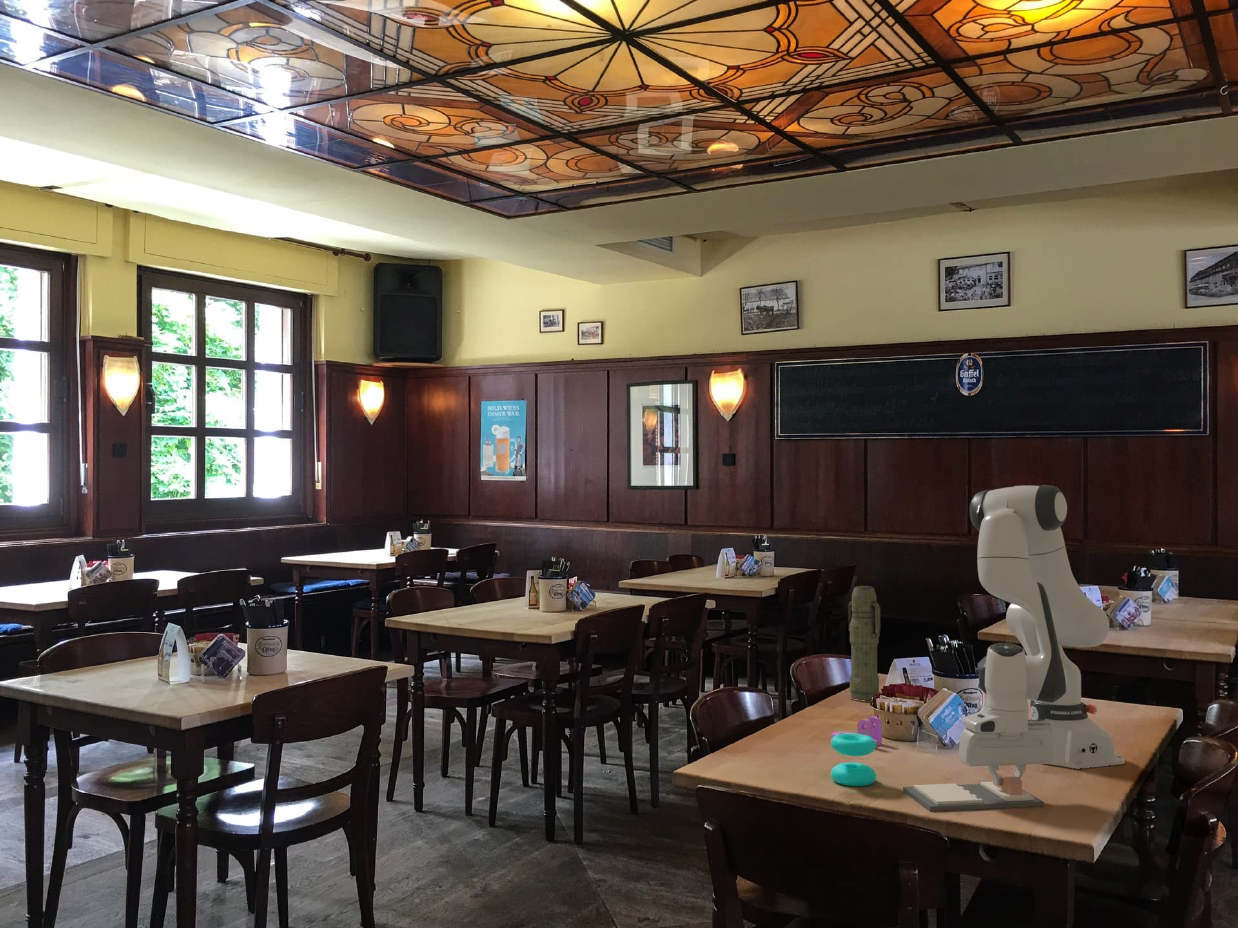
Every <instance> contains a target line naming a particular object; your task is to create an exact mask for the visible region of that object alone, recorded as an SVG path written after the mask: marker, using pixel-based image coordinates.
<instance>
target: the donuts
mask: <svg viewBox="0 0 1238 928" xmlns="http://www.w3.org/2000/svg"><path fill="white" fill-rule="evenodd" d="M830 746H831V747H832V749H833V750H834V751H835V752H836V753H839V754H841V755H845V756H848V757H862V756H867V755H870V754H872V753H874V751H876V750H875V749H876V748H877V746H876V742H875V740H874V739H873V738H871V737H869V736H867V735H862V734H857V733H854V732H849V733H846V734H839V735H836V736H834V737H833V738H832V737H831V740H830ZM830 777H831V778H832V781H834V782H836V783H838V784H839V785H844V786H849V787H867V786H870V785H872V784H874V782H875V781H876V779H877V773H876V772H875V770H874V769H873V768H872V767H871V766H869V765H868V764H865V763H860V762H843V763H838V764H837V765H835V766H834V767H833V768H832V769H831V771H830Z"/></svg>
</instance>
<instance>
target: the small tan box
mask: <svg viewBox="0 0 1238 928" xmlns="http://www.w3.org/2000/svg"><path fill="white" fill-rule="evenodd" d="M996 772H997V774H998V775H999V776H1000V777H1002V778H1003V786H995V785H994V784H993V781H979V784H980V785H981V786H983V787H984V788H986V789H988V790H989V791H991V792H993V793H994V794H996V795H997V796H999V797H1001V798H1002V799H1004V800H1006V801H1022V800H1034V797H1033V796H1034V795H1033V796H1031V795H1032V794H1031V795H1029V794H1027V793H1026V792H1027V791H1026V792H1024V791H1025V790H1024V791H1022V789H1023V781H1022V779H1021V780H1020V779H1018V778H1017V777H1015V776H1013V775H1014V774H1011V773H1010V772H1007V771H1006V770H1004V769H1002V770H1001V769H1000V770H996Z"/></svg>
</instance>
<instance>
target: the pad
mask: <svg viewBox="0 0 1238 928" xmlns="http://www.w3.org/2000/svg"><path fill="white" fill-rule="evenodd" d="M1022 791H1024V792H1026V793H1027V794H1029V795H1031V796H1033V797H1034V800H1022V801H1006V800H1004V799H1002V798H1001V797H999V796H997V795H996V794H994V793H993V792H991V791H989V790H988V789H986V788H984V787H983V786H981V785H980V783H973V784H972V783H971V784H958V783H936V784H931V783H930V784H913V786H903V787H902V792H903V793H905V794H906V795H907V796H908V797H910V798H911V799H912V800H914V801H915V802H917V803H918V804H919V805H921V806H922V807H924V808H925V809H926V810H928V811H929V812H940V811H941V812H944V811H967V810H988V809H987V808H995V809H1012V807H1018V808H1028V807H1027V806H1042V807H1045V801H1044V800H1042V799H1040V798H1038V797H1037V796H1035V795H1034V794H1031V793H1030V792H1028V791H1026V790H1024V789H1023V788H1022Z"/></svg>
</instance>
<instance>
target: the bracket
mask: <svg viewBox="0 0 1238 928" xmlns="http://www.w3.org/2000/svg"><path fill="white" fill-rule="evenodd" d="M856 727H857V731H856V732H857V733H856V734H862V735H867V736H869V737H871V738H873V739H874V740H875V742H876V747H877V746H880V745H882V744H883V722H882V720H881V718H879V716H876V715H875V716H874V715H873V716H870V717H869V718H863V719H860V720H858V721H857V725H856ZM846 733H850V732H848V731H834V732H832V733H831V739H832V738H833V737H834V736H836V735H839V734H846Z"/></svg>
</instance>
